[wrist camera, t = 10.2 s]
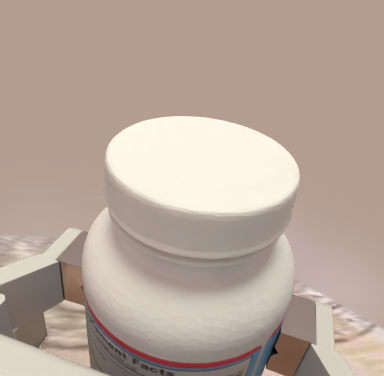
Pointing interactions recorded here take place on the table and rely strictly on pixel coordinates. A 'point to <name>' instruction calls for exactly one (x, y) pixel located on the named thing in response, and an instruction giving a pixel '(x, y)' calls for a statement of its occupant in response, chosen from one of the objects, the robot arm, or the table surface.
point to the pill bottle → (189, 250)
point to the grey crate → (32, 331)
